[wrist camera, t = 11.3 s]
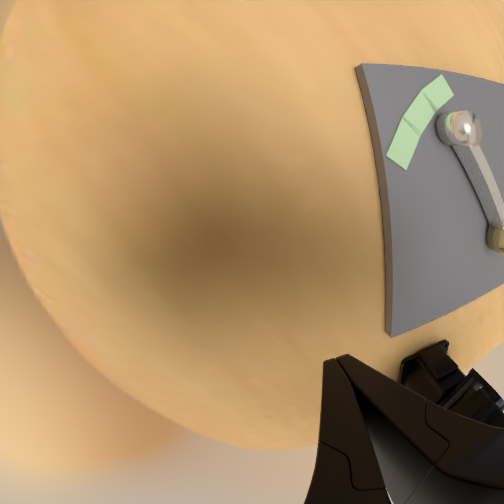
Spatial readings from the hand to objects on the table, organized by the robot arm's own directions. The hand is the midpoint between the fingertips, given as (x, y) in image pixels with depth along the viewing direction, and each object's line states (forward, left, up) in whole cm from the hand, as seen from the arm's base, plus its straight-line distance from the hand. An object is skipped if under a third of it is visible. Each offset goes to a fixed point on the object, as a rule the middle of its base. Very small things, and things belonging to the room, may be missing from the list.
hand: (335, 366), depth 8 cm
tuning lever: (+2, -19, -10) cm, 22 cm away
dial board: (+1, -20, -12) cm, 24 cm away
